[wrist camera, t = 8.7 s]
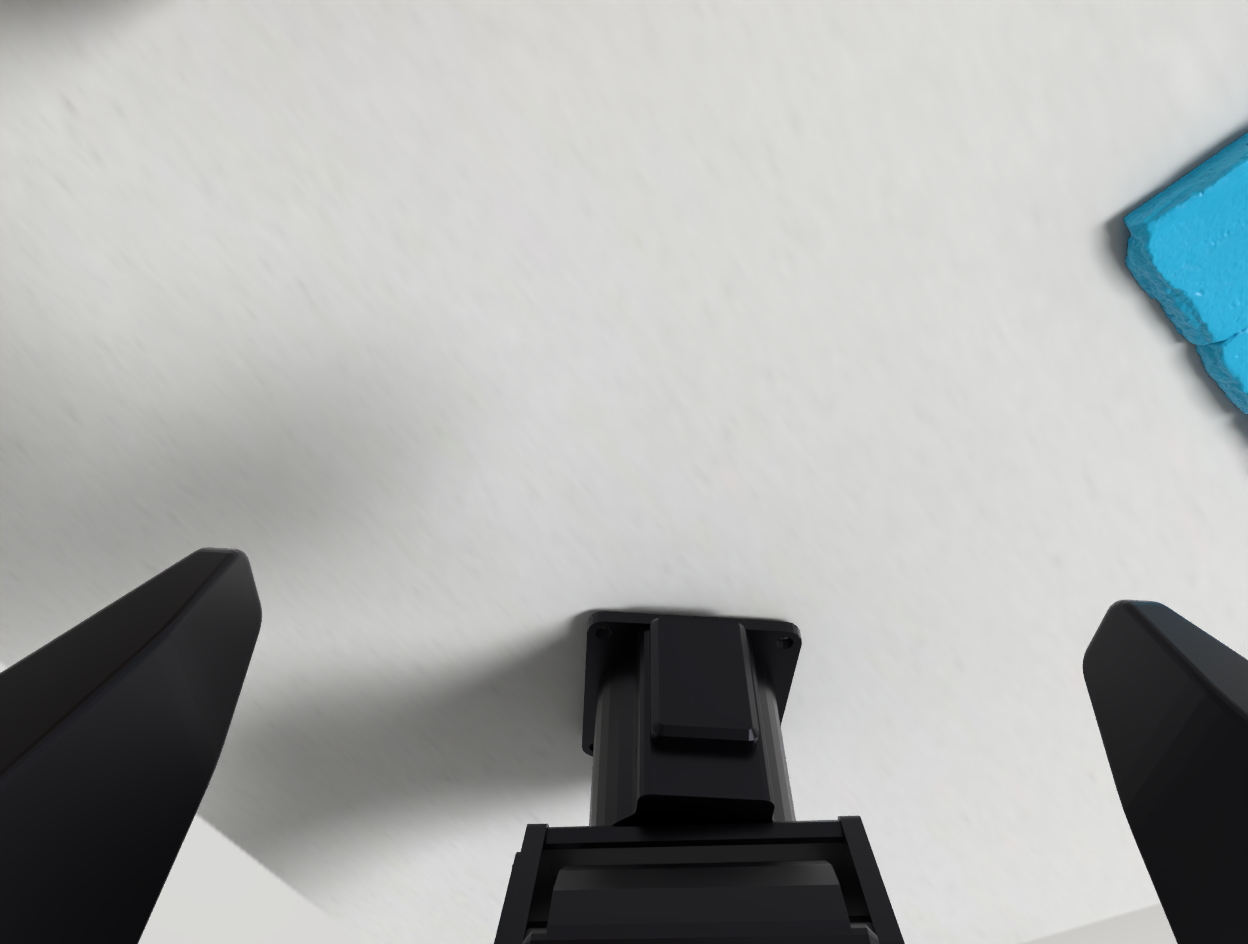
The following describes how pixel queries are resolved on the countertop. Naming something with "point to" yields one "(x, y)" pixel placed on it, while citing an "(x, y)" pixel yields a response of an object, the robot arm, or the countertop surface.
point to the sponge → (1201, 262)
